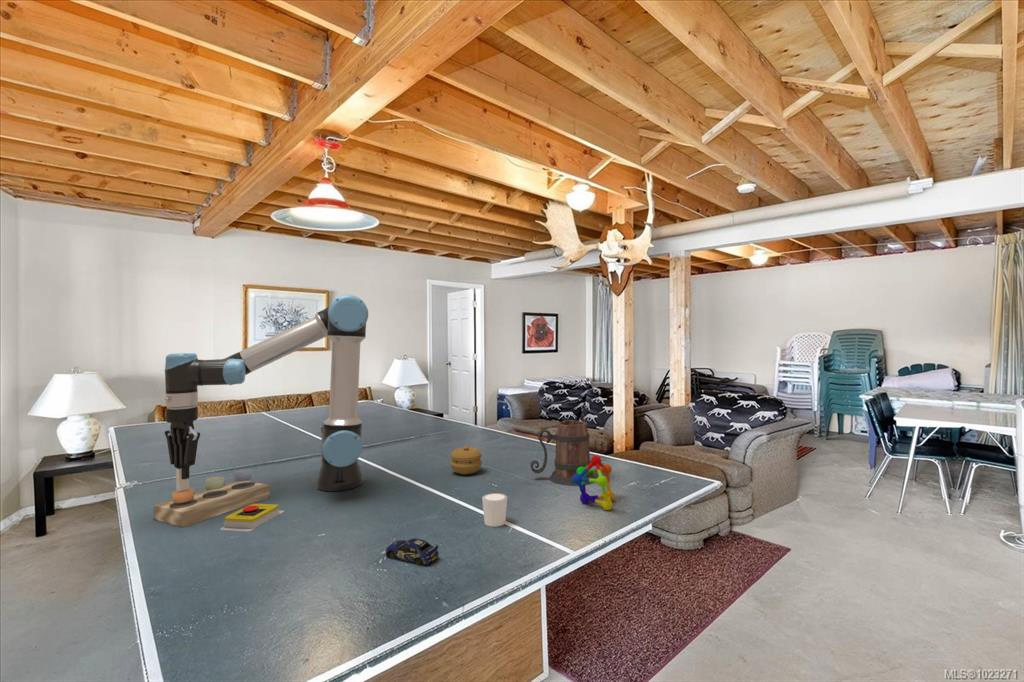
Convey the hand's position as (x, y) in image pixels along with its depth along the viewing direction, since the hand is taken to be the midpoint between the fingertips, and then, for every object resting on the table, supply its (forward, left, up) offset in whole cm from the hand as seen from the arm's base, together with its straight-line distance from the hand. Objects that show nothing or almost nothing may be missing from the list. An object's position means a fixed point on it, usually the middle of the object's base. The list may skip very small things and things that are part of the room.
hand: (182, 489), depth 133 cm
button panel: (0, -9, -8) cm, 12 cm away
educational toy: (-104, -57, -8) cm, 119 cm away
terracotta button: (0, 0, -3) cm, 3 cm away
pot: (-51, -71, -8) cm, 88 cm away
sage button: (0, -9, -2) cm, 9 cm away
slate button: (0, -18, -2) cm, 18 cm away
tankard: (-87, -78, -8) cm, 117 cm away
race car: (-74, -7, -9) cm, 75 cm away
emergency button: (-20, -7, -9) cm, 23 cm away
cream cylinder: (-83, -33, -8) cm, 90 cm away
